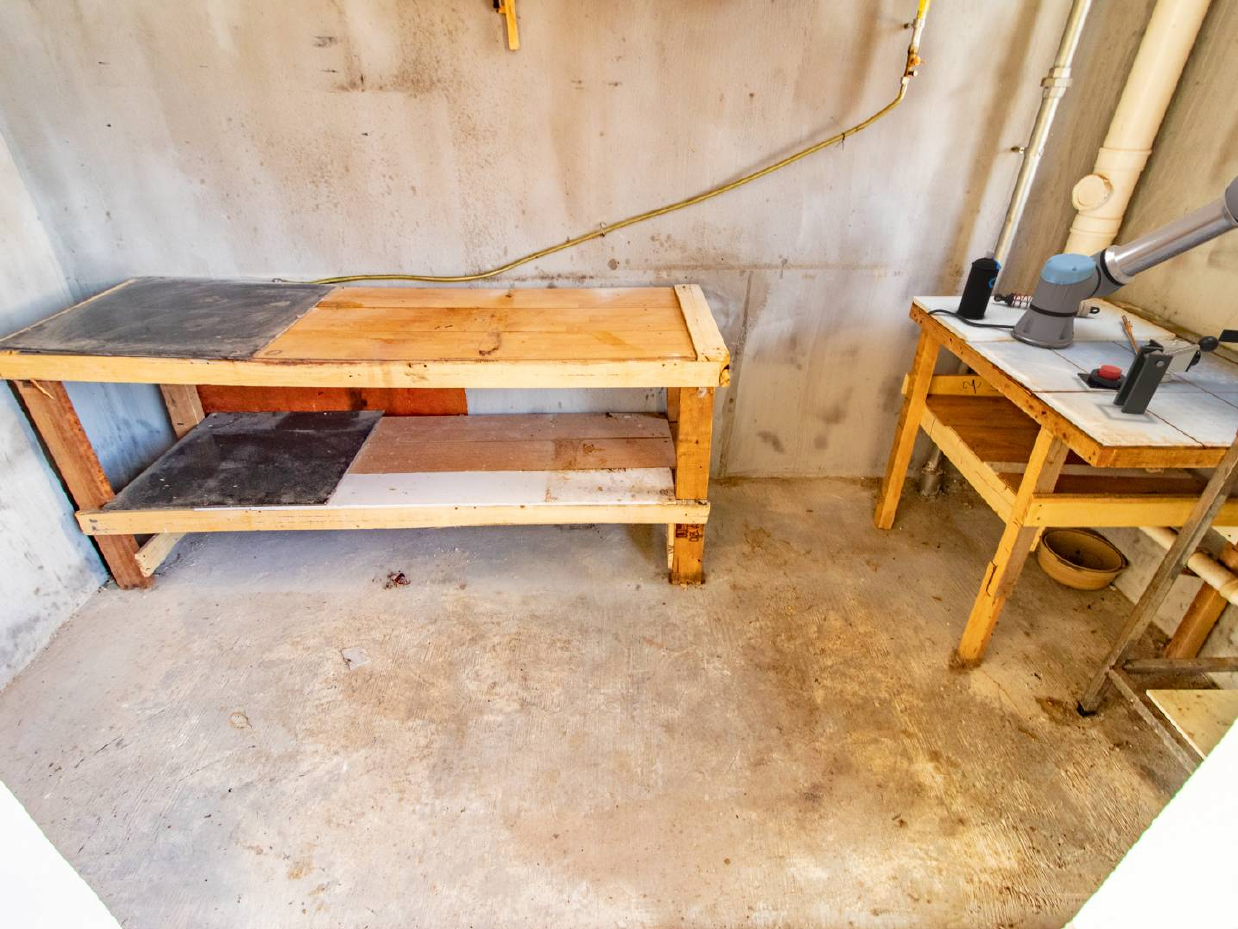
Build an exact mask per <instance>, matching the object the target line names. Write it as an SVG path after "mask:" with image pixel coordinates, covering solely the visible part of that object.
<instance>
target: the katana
mask: <svg viewBox="0 0 1238 929" xmlns="http://www.w3.org/2000/svg"><path fill="white" fill-rule="evenodd" d="M1127 318H1128V317H1127V315H1122V316H1121V319H1122V322H1123V325H1124V329H1123V330H1124V331H1125V334H1126V336H1128V338H1129V340H1130V343H1131V345H1132V348H1133V350H1134V352H1135V356H1136V355H1137V353H1138V351H1139V349H1140V348H1139V346H1138V344H1137V342H1136V340H1135V337H1134V334H1133V331H1132V330H1133V325H1132V323H1131V321H1130V320H1128V319H1127Z"/></svg>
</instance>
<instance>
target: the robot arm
mask: <svg viewBox="0 0 1238 929" xmlns="http://www.w3.org/2000/svg"><path fill="white" fill-rule="evenodd" d="M1237 230H1238V175H1237V176H1236V177H1234V178H1233V179H1232V181H1231V182H1230V184H1229V185H1228V186H1226V188H1225V189H1224V191H1223V193H1222V195H1221V196H1220V197H1218V198H1216V199H1214V200H1212V201H1210V202H1209V203H1208V202H1207V203H1206V204H1204V205H1203V206H1200V207H1198V208H1196V209H1194V210H1193V211H1191V212H1190V211H1189V212H1188V213H1186V214H1184V215H1182V216H1180V217H1178V218H1177V219H1176V218H1175V219H1174V220H1172V221H1170V222H1168V223H1166V224H1164V225H1162V226H1160V227H1157V228H1156V229H1154V230H1152V231H1149V232H1148V233H1146V234H1143V236H1140V237H1138V238H1136V239H1134V240H1132V241H1130V242H1128V243H1126V244H1124V245H1122V246H1121V245H1117V244H1113V245H1110V246H1107V247H1105V248H1104V249H1102V250H1100V251H1098V252H1095V253H1094V254H1092V255H1086V254H1085V255H1084V254H1081V253H1060V254H1059V253H1058V254H1055V255H1052V256H1051V257H1049V258H1048V259H1047V261H1046V262H1045V264H1044V266H1043V267H1042V269H1041V271H1040V276H1039V278H1038V281H1037V284H1036V287H1035V290H1034V293H1033V294H1032V295H1033V297H1032V298H1031V299H1030V301H1031V303H1029V305H1028V307H1027V310H1026V311H1025V312H1024V313H1023V315H1022V316H1021V317H1020V318H1019V319H1018V321H1017V322H1016V324H1015V325H1009V324H993V323H979V322H974V321H970V320H969V319H967V318H964V317H963V316H961V315H959V314H956V312H953V311H950V310H946V309H942V308H938V309H933V310H930V311H929V312H927V315H933V314H935V313H943V314H947V315H950V316H953V317H956V318H958V319H960V320H961V321H962V322H964V323H965V324H967V325H970V326H973V327H981V328H995V329H996V328H997V329H1011V330H1012V331H1011V336H1013V337H1014V338H1015V339H1016V340H1018V341H1020V342H1022V343H1024V344H1027V345H1030V346H1035V347H1039V348H1043V349H1044V348H1045V349H1054V350H1055V349H1066V348H1068V347H1070V346H1071V344H1072V342H1073V339H1074V335H1075V331H1074V328H1075V326H1074V324H1075V317H1076V316H1075V314H1076V312H1077V309H1078V307H1079V305H1080V302H1081V301H1088V300H1091V299H1096V298H1103V297H1107V296H1110V295H1113V294H1114V293H1116V292H1117V291H1119V290H1120V289H1121V288H1123V287H1125V286H1127V285H1129V284H1131V283H1133V282H1134V280H1135V278H1136V276H1137V275H1138V274H1140V273H1143V272H1144V271H1147V270H1149V269H1152V268H1153V267H1156V266H1158V265H1160V264H1162V263H1164V262H1167V261H1169V260H1171V259H1173V258H1176V257H1178V256H1179V255H1183V254H1184V253H1187V252H1190V251H1191V250H1194V249H1196V248H1198V247H1200V246H1202V245H1204V244H1207V243H1209V242H1211V241H1213V240H1216V239H1218V238H1220V237H1222V236H1225V235H1227V234H1229V233H1231V232H1233V231H1237ZM1217 339H1218V340H1219V343H1229V344H1230V343H1231V344H1238V329H1229V328H1227V329H1223V330H1222V332H1221V333H1220V335H1219V337H1218V338H1217Z"/></svg>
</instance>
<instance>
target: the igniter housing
mask: <svg viewBox="0 0 1238 929" xmlns="http://www.w3.org/2000/svg"><path fill="white" fill-rule="evenodd" d="M1099 370H1100V368H1098V367H1097V368H1094V369H1093V368H1092V370H1091V371H1090V373H1086V372H1085V373H1084V372H1077V374H1076V375H1077V376H1078V377H1079V378H1080V379H1081V380H1082V381H1083V382H1084V384H1086V385H1087V387H1088V388H1090V389H1095V390H1107V391H1117V392H1118V391H1119V389H1120V387H1121V385H1122V383H1123V381H1124V379H1125V377H1126V375H1125V374H1123V373H1121V375H1120V377H1119V379H1109V378H1105V377H1102V376H1100V375H1099V374H1098V372H1099Z"/></svg>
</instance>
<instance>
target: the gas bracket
mask: <svg viewBox="0 0 1238 929" xmlns="http://www.w3.org/2000/svg"><path fill="white" fill-rule="evenodd" d="M1138 349H1139V351H1138V353H1137V355H1136V354H1135V357H1134V359H1133V361H1132V363H1131V365H1130V367H1129V369H1128V371H1127V373H1126V375H1125V379H1124V381H1123V383H1122V385H1121V387H1120V389H1119V391H1118V390H1117V394H1116V396H1115V397H1114V400H1113V402H1112V404H1113V405H1114V406H1121V407H1122V408H1121V409H1120V412H1121V413H1122V414H1130V415H1141V416H1143V415H1145V412H1146V410H1147V408H1148V406H1149V405H1150V403H1151V400H1152V399H1153V397H1154V395H1155V393H1156V391H1157V390H1158V387H1159V385H1160V384H1161V383H1162V382H1161V380H1162V378H1163V376H1164V374H1165V372H1167V371H1166V370H1167V369H1168V367H1169V365H1170V363H1171V361H1172V359H1173V357H1174V356H1172V355H1168V354H1155V353H1150V354H1149V356H1148V358H1147V360H1146V362H1145V364H1144V355H1143V354H1145V353H1149V352H1153V351H1156V350H1159V351H1160V352H1161V353H1163V351H1164V349H1163V348H1161V347H1148V346H1144V345H1140V347H1139V348H1138Z"/></svg>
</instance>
